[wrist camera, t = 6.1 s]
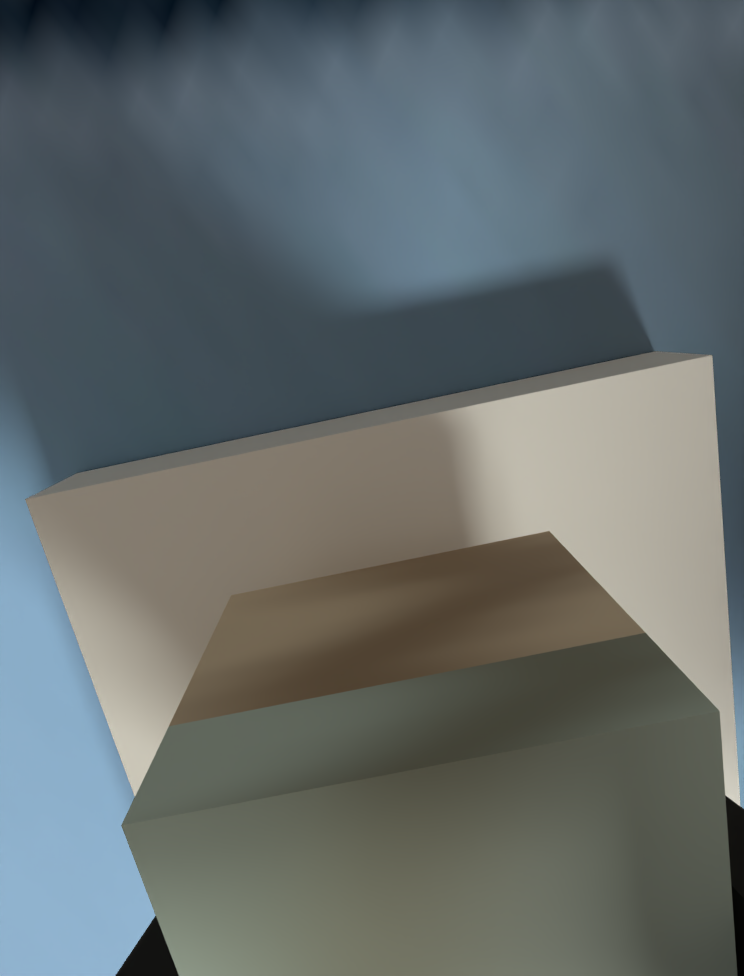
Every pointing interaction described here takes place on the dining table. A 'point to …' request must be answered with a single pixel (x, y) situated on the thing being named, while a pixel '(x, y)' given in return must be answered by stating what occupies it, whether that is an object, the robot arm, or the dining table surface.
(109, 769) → the dining table surface
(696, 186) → the dining table surface
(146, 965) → the robot arm
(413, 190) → the dining table surface
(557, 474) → the white stand
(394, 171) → the dining table surface
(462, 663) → the sage green block
